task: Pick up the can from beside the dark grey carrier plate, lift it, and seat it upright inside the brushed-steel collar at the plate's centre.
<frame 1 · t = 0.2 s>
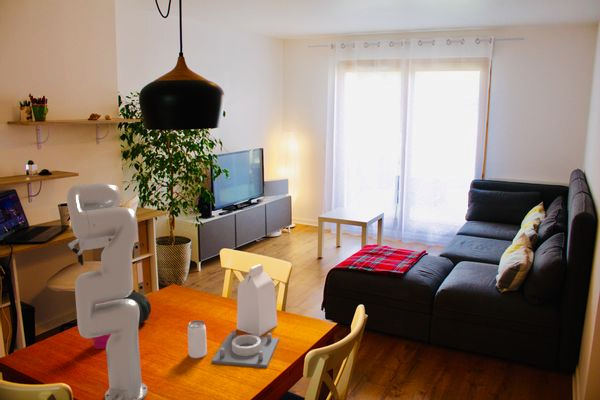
hand: (95, 261, 190), 31 cm above the table, tool pointing down, fingers open, 9 cm apart
carrier plate: (246, 351, 185), on the table
milk: (257, 327, 205), on the table
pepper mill: (103, 345, 190), on the table
squash: (133, 323, 209), on the table
can: (197, 354, 183), on the table
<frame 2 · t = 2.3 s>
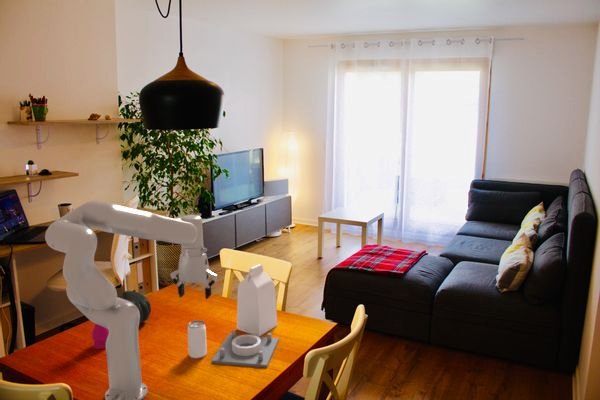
hand: (194, 296, 179), 22 cm above the table, tool pointing down, fingers open, 9 cm apart
nothing on the table moved.
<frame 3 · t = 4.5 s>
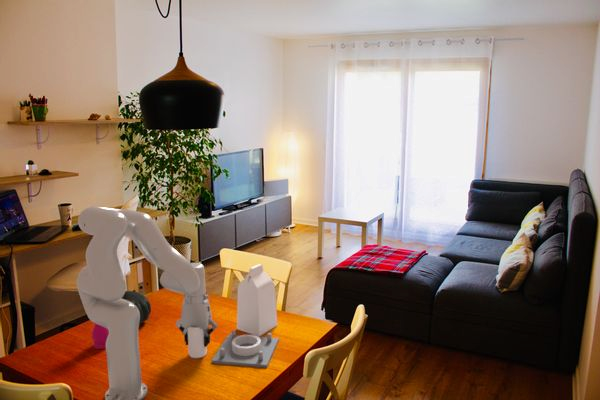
hand: (197, 343, 182), 4 cm above the table, tool pointing down, fingers closed on can, 6 cm apart
can: (197, 354, 183), on the table, touching gripper
everything else where it was.
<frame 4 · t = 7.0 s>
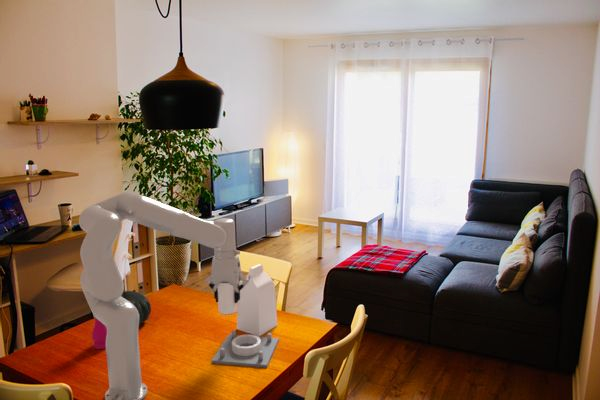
hand: (227, 300, 181), 20 cm above the table, tool pointing down, fingers closed on can, 6 cm apart
can: (227, 312, 182), point 16 cm above the table, touching gripper
everything else where it was.
when the fingers open (6 cm above the table, at t = 9.4 s): can drops 1 cm, resting on carrier plate.
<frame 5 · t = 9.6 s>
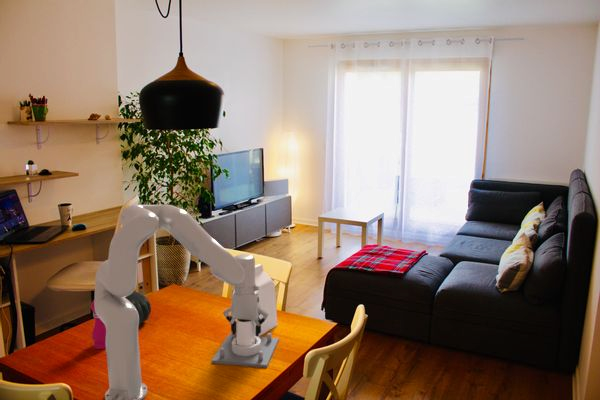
hand: (246, 333, 184), 7 cm above the table, tool pointing down, fingers open, 8 cm apart
can: (245, 349, 185), point 1 cm above the table, touching carrier plate
everything else where it was.
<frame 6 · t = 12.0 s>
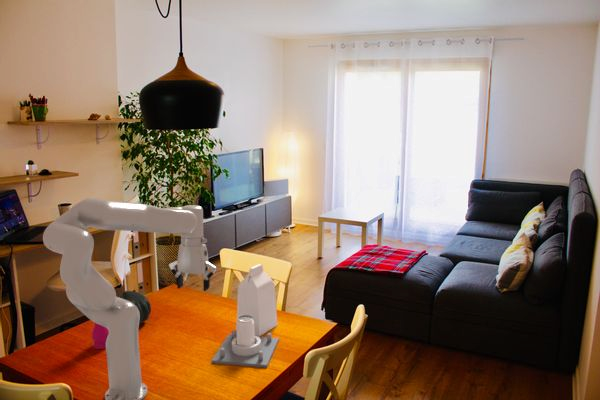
hand: (193, 288, 176), 26 cm above the table, tool pointing down, fingers open, 9 cm apart
nothing on the table moved.
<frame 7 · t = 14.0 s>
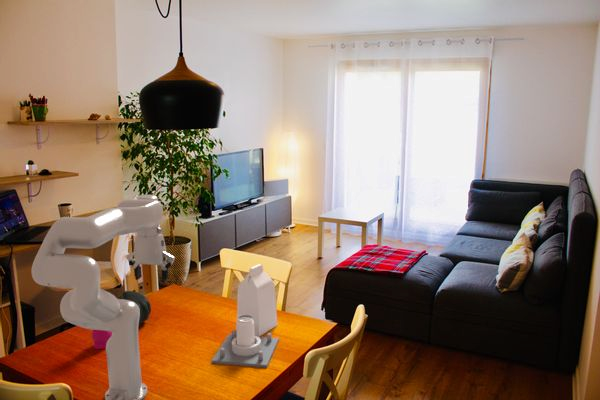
hand: (151, 279, 173), 30 cm above the table, tool pointing down, fingers open, 9 cm apart
nothing on the table moved.
at the end: can 0.3 cm off-centre on the carrier plate, point 0.8 cm above the carrier plate's base; can tilted 0°; the gripper is holding nothing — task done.
